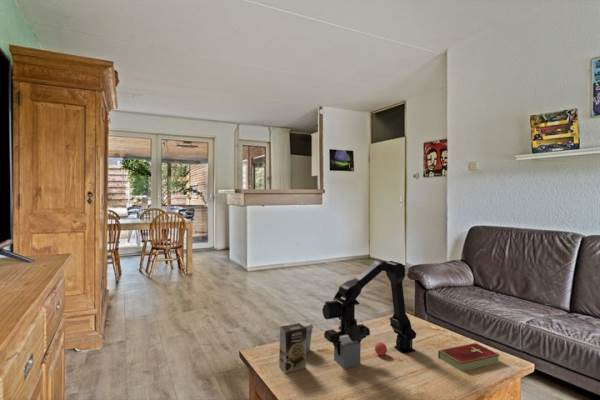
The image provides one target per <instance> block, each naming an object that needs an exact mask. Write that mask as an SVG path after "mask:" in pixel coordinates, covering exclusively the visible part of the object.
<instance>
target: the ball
mask: <svg viewBox="0 0 600 400" xmlns="http://www.w3.org/2000/svg"><path fill="white" fill-rule="evenodd" d="M374 351H375V353H376V354H377V355H378V356H384V355H386V353H387V351H388V350H387V346H386V344H385V343H384V342H378V343H376V344H375V346H374Z"/></svg>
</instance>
